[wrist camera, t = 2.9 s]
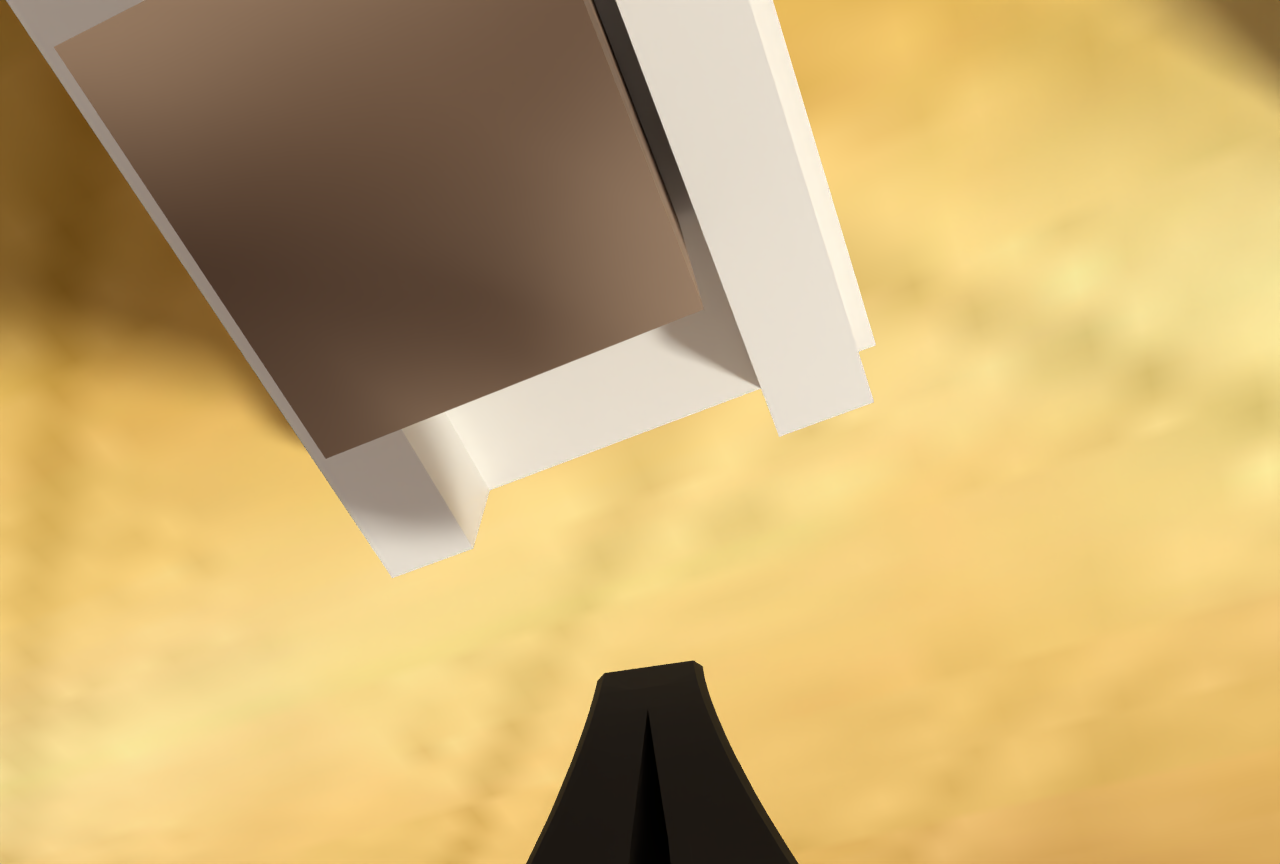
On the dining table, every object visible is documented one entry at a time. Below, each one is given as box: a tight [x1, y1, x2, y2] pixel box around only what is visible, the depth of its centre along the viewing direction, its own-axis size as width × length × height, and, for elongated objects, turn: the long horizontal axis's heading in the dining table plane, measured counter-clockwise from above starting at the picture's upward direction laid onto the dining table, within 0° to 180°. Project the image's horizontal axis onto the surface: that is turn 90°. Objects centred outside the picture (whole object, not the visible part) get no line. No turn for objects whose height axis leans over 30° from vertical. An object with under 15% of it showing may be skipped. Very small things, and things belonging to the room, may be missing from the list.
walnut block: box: [54, 0, 704, 459], centre depth 11 cm, size 5×5×5 cm
